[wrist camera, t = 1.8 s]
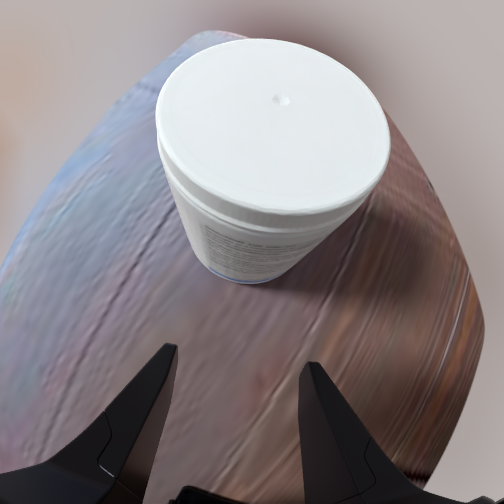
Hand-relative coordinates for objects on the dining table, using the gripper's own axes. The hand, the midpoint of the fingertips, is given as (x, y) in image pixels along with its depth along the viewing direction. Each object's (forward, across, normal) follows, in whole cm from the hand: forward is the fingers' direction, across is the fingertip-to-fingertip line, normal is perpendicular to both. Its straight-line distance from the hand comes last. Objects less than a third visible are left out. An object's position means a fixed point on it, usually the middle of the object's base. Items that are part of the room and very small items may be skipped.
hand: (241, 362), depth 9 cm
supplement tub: (+16, 0, +3) cm, 16 cm away
